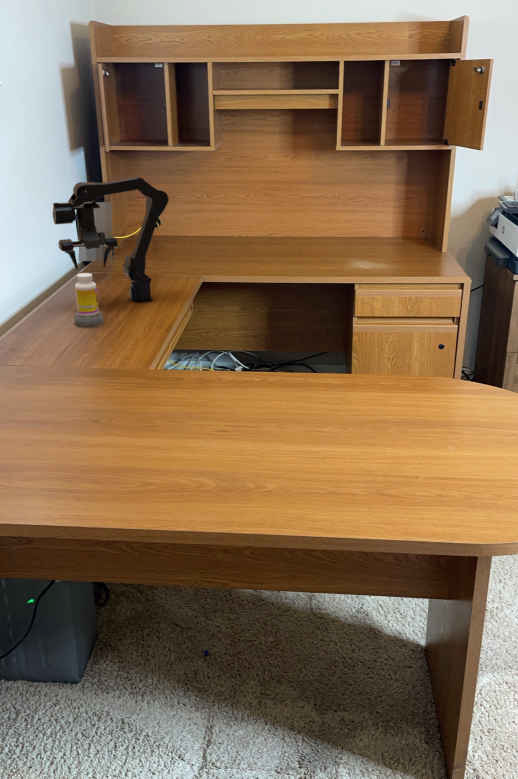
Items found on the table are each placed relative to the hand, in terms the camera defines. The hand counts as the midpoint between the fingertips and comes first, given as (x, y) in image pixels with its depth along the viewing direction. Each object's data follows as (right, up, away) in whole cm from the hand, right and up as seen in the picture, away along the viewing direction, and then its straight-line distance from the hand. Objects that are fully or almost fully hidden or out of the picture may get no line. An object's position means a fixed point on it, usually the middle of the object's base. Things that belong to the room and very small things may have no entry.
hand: (90, 268), depth 241 cm
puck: (+3, -20, -13) cm, 24 cm away
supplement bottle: (+3, -17, -14) cm, 22 cm away
